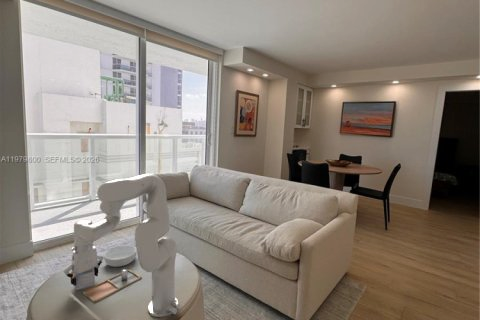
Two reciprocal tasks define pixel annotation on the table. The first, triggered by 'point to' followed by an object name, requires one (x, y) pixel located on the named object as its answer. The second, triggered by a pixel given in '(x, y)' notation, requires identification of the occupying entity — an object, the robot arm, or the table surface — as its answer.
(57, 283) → the table surface
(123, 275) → the peg
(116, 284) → the board
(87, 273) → the medicine box
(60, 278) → the table surface
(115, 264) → the cereal bowl
